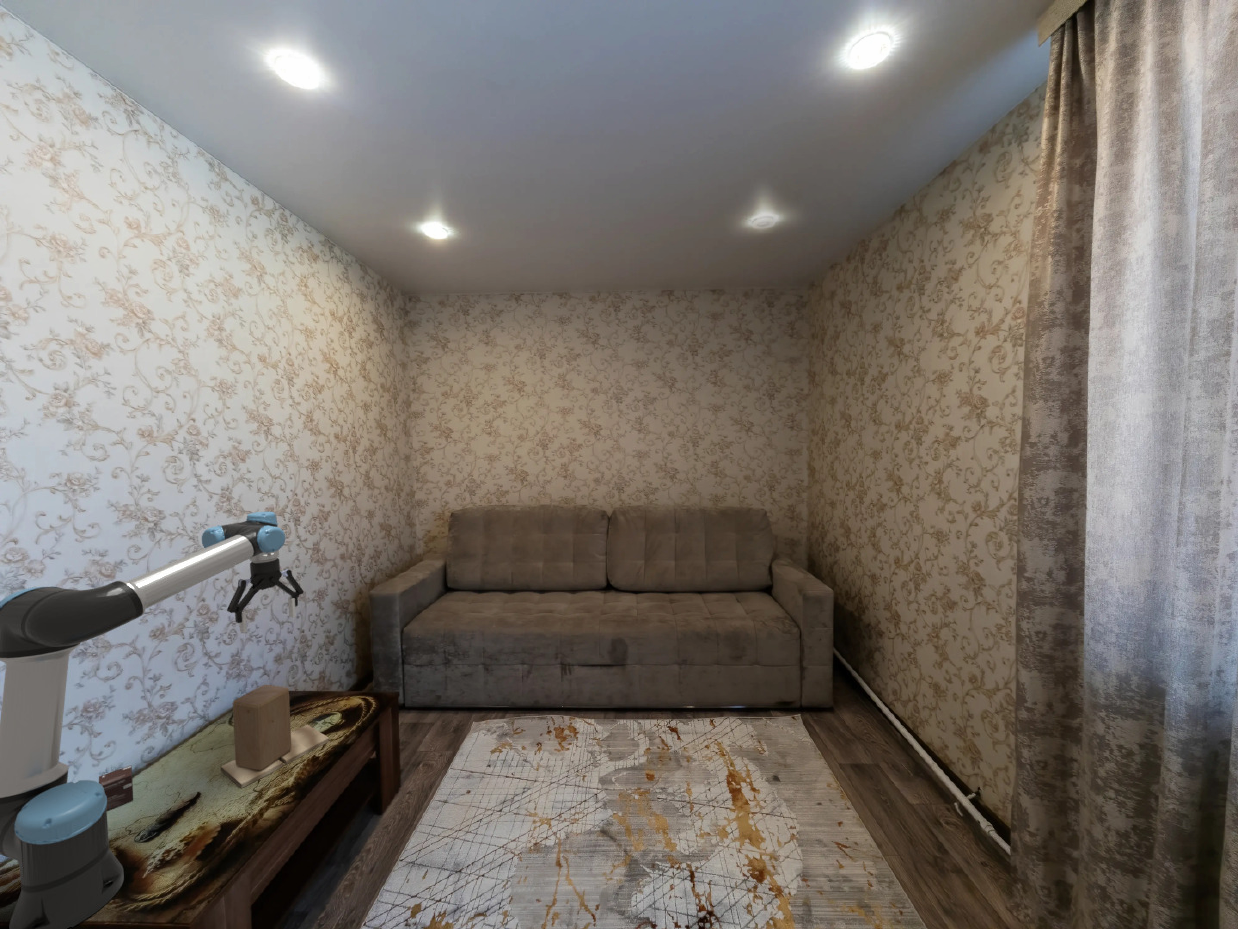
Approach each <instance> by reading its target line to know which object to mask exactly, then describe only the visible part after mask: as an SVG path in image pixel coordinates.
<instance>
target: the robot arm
mask: <svg viewBox="0 0 1238 929" xmlns="http://www.w3.org/2000/svg"><path fill="white" fill-rule="evenodd" d="M278 525H279V524H278V520H277V515H276V513H275V512H274V511H258V512H256V511H255V512H252V513H248V514H247V515H246V520H244V521H242V522H235V523H229V524H224V525H217V526H212V527H208V528H207V529H205V530H204V531H203V532H202V534H201V544H202V549H200V550H198V551H195V552H194V553H191V554H188V555H186V556H184V557H181V558H179V559H176V560H174V561H172V562H169V563H167V564H164V565H163V566H160V567H157V568H155V569H153V570H151V571H148V572H146V573H143V574H142V575H139V576H137V577H134V578H132V579H129V580H127V581H126V580H122V579H121V580H115V581H113V582H111V583H108V584H105V585H102V586H99V587H93V588H88V589H81V590H78V589H73V588H72V589H71V588H63V587H59V586H54V585H53V586H35V587H28V588H25V589H20V590H18V591H15V592H14V593H11V594H9V595H7V596H5V597H4V598H3V599H2V600H0V661H1V662H3V664H5V674H4V684H3V692H2V700H1V701H2V702H1V714H0V856H3V857H6V858H8V859H12V860H14V861H16V862H17V863H18V866H19V867H18V868H19V876H20V877H19V879H20V886H21V888H20V889H21V891H20V894H19V897H18V899H17V902H16V905H15V907H14V910H13V913H12V916H11V918H10V921H9V929H67V928H69V927H72V928H74V927H76V926H77V925H79V924H80V923H82V922H84V921H85V920H87V919H88V918H90V917H92V915H95V913H97V912H98V911H99V910H101V909H102V908H103V907H104V906H106V905H107V904H108V903H109V902H110V901H111V900H112V899H113V897H115V896H116V895H117V893H118V892H119V891H120V889H121V888H122V885H123V883H124V880H125V878H124V877H125V876H124V867H123V865H122V863H120V861H119V860H118V858H117V857H116V855H115V854H114V853H113V851H112V850H111V849H110V843H109V827H108V826H109V824H108V811H107V807H106V806H107V797H106V795H105V792H104V788H103V786H102V785H101V784H100V783H99V781H95V780H91V779H82V780H78V781H76V782H74V781H71V782H68V777H69V765H68V764H65V763H63V762H61V761H60V752H61V744H62V743H61V742H62V741H61V740H62V732H63V722H64V721H63V720H64V712H65V711H64V709H65V700H66V690H67V681H68V670H69V669H68V668H69V660H70V653H71V652H73V651H74V650H75V649H77V648H78V647H79V646H80V645H81V643H84V642H87V641H89V640H92V639H94V638H97V637H99V636H103V635H105V634H107V633H108V632H109V633H110V632H111V631H112V630H115V629H117V628H120V627H122V626H123V625H126V624H128V623H130V622H132V621H135V620H136V619H138V618H140V617H142V616H143V615H144V614H145V612H146V609H148V608H150V607H153V606H155V605H156V604H159V603H160V602H163V601H165V600H167V599H169V598H171V597H172V596H173V597H174V596H176V595H177V594H179V593H181V592H184V591H185V590H187V589H190V588H191V587H193V586H196V585H198V584H201V583H202V582H204V581H207V580H208V579H210V578H212V577H214V576H216V575H219V574H220V573H221V574H222V572H225V571H227V570H229V569H231V568H233V567H235V566H237V565H239V564H241V563H243V562H245V561H247V560H249V561H250V563H249V567H250V568H249V570H250V577H249V578H247V579H242V578H240V579H239V580H238V583H237V588H236V590H235V591H234V595H233V596H232V598H231V600H230V602H229V604H228V607H227V608H226V611H227V612H229V613H231V614H234V616H235V617H234V618H235V622H236V623H237V624H239V632H240V633H243V634H245V633H246V634H247V631H248V630H247V619H246V617H247V616H246V611H244V609H246V607H247V605H249V603H250V602H251V600H252V599H253V598H254V596H255V595H256V594H257V593H259V591H260V590H261V591H264V590H266V589H271V588H274V587H275V586H276V587H278V588H279V589H281V591H283V592H285V593H286V594H288V595H289V596H290V597H289V596H288V614H289V615H288V616H289V617H290V618H292V619H295V618H296V616H297V615H296V614H297V613H296V607H298V606H299V603H298V601H299V600H298V598H299V597H300V595H303V594H304V592H305V591H304V589H303V588H302V587H301V585H300V584H299V583H298V582H297V580H296V579H295V578H294V576H293V572H292V570H291V569H288V568H286V569H284V570H283V571H281V565H280V559H279V557H280V552H279V550H281V549H282V548H283V546H284V545H285V543H286V535H285V534H286V533H285V532H284V530H283V529H281V528H280V527H279V526H278ZM281 577H284V578H285V579H286V580H287V582H289V584H290V586H291V587H292V588H293V589H294V590H292V589H291V588H290V587H289V586H287V585H285V584H284V583H283V582H281V581H280V580H281ZM249 584H251V586H250V588H248V591H247V593H246V594H245V595H244V596H243V594H244V593H245V591H246V588H247V587H248V586H249ZM242 597H243V598H242Z"/></svg>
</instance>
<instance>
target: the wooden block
mask: <svg viewBox="0 0 1238 929" xmlns="http://www.w3.org/2000/svg"><path fill="white" fill-rule="evenodd" d="M290 711H291V710H290V690H289V688H288V687H284V686H279V685H278V686H277V685H271V684H263V685H261V686H259V687H256V688H255V689H253V690H251V691H249V692H247V693H245V694H244V695H241V696H240V697H237V698H236V699H234V700H233V701H232V715H233V716H232V717H233V718H232V719H233V733H234V734H233V737H234V738H233V739H234V756H235V758H234V760H236V765H237V766H240V767H245V768H250V769H255V770H262V769H264V768H265V767H267V766H268V765H270V764H271V763H273V762H274V761H276V760H277V759H278V760H279V758H280V757H281V756H283V755H284V754H286V753H287V752H288V751H290V749H291V732H292V730H291V712H290Z"/></svg>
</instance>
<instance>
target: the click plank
mask: <svg viewBox="0 0 1238 929" xmlns="http://www.w3.org/2000/svg"><path fill="white" fill-rule="evenodd" d="M283 763H284V762H283V761H281V760H280V759H279V758H278V759H277V760H276V761H274V762H273V763H271V764H270V765H268V766H267V767H265V768H264V769H262V770H255V769H250V768H245V767H240V766H237V765H236V760H235V759H233V760H231V761H229V762H226V763H225V764H223V765H221V766H220V771H221V772H223V773H224V775H225V776H227V777H228V778H229V779H230V780H231V781H233V783H235V785H237V786H238V787H239V788H240V789H244V788H245V787H247V786H248V785H250V784H252V783H255V782H256V781H258V780H260V779H262V778H264V777H266V776H268V775H270V774H271V773H274V772H275V771H277V770H280V769H281V768H283V766H284V764H283Z"/></svg>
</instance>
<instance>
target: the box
mask: <svg viewBox="0 0 1238 929" xmlns="http://www.w3.org/2000/svg"><path fill="white" fill-rule="evenodd" d="M132 767H133V766H132V765H128V766H125V767H122V768H118V769H116V770H113V771H111V772H108V773H106V774H103V775H99V777H98V783H100V784H101V785H102V786H103V788H104V792H105V795H106V797H107V806H106V807H107V812H108V811H111V810H114V809H116V808H119V807H122V806H123V805H125V804H128V803H131V802H133V801H134V784H133V782H134V781H133V768H132Z"/></svg>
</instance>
